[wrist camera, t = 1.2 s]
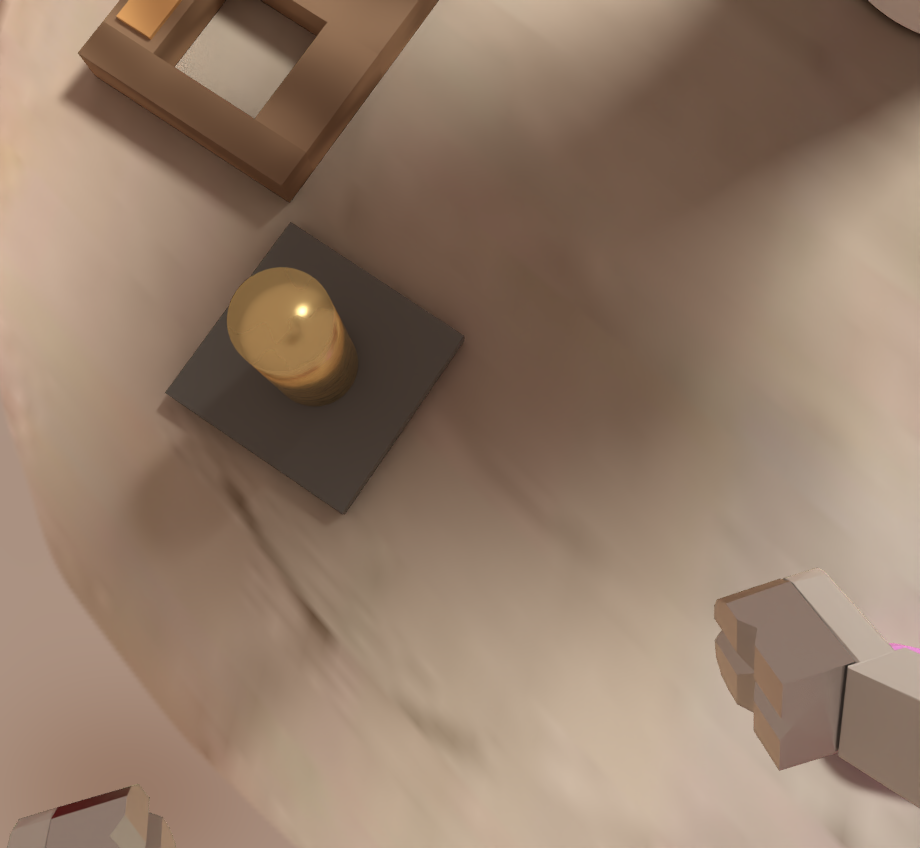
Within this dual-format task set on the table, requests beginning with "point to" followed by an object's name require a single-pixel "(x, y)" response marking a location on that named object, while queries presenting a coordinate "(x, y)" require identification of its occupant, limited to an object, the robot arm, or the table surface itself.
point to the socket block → (290, 107)
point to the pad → (347, 419)
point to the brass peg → (293, 335)
